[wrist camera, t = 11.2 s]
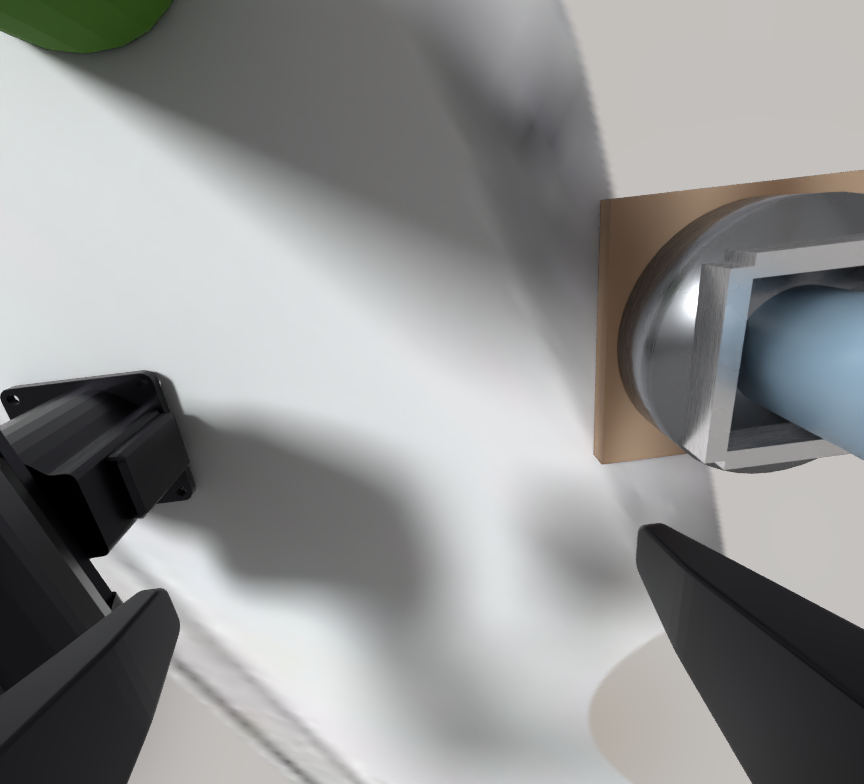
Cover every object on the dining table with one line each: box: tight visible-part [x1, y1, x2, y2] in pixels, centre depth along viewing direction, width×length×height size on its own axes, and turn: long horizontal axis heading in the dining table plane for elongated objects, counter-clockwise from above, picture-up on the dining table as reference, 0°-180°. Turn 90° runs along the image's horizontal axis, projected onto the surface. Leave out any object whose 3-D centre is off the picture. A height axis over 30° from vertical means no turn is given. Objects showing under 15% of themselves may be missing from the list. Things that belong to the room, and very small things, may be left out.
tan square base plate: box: [594, 170, 864, 474], centre depth 18 cm, size 12×12×6 cm
